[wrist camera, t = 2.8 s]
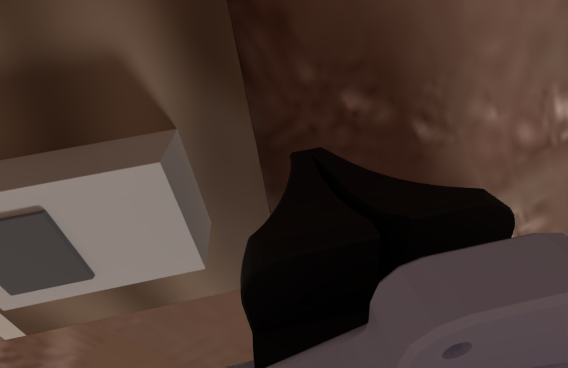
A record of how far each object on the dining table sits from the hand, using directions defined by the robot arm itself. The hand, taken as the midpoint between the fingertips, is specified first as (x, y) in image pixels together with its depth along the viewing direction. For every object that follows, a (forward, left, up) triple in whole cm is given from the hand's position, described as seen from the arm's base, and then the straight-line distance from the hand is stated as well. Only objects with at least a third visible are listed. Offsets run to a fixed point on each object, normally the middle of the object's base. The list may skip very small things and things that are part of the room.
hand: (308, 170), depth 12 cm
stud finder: (+9, 0, -1) cm, 9 cm away
